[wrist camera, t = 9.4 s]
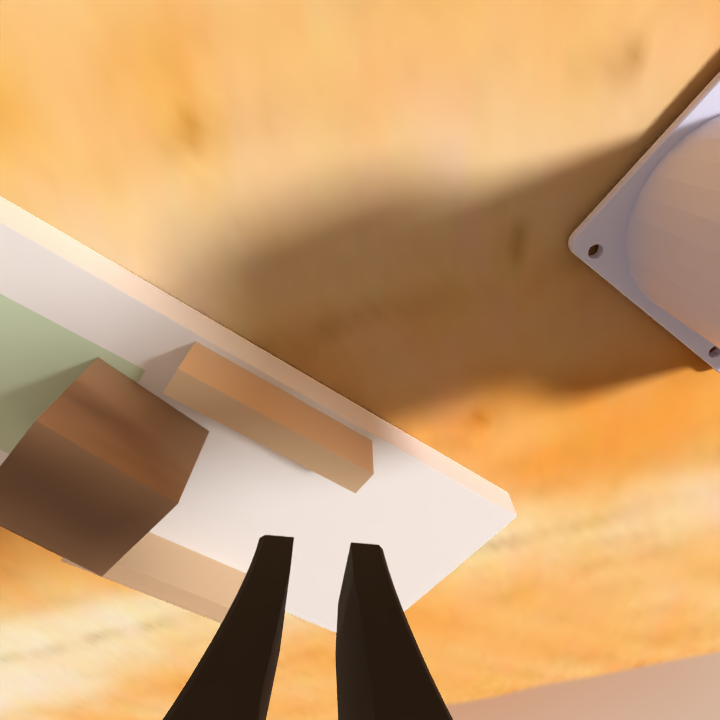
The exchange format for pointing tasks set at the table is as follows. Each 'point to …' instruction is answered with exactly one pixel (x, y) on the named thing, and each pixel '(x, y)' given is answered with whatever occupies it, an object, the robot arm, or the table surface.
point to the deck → (232, 439)
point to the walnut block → (98, 469)
